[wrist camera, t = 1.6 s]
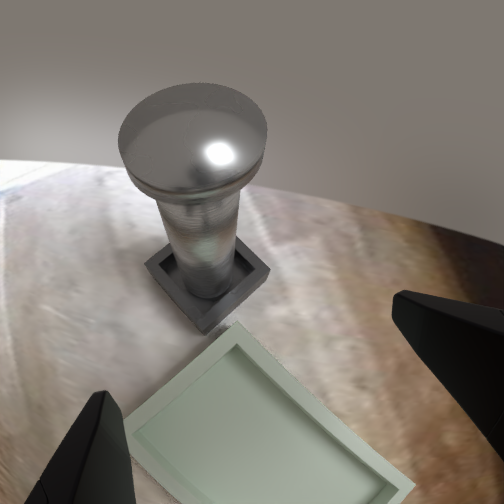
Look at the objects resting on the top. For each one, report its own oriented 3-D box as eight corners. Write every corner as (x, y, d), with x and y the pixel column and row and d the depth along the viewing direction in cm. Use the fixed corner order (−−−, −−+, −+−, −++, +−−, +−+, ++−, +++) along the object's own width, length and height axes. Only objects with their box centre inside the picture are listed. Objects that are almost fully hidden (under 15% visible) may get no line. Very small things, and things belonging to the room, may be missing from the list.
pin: (204, 321, 21) (176, 218, 8) (160, 271, 22) (94, 128, 9) (255, 276, 22) (298, 132, 10) (210, 230, 23) (203, 68, 11)
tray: (298, 570, 14) (306, 585, 12) (121, 426, 18) (109, 430, 16) (399, 477, 18) (416, 484, 15) (235, 327, 22) (237, 320, 19)
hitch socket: (204, 335, 21) (202, 330, 19) (151, 274, 23) (144, 263, 20) (266, 280, 23) (270, 269, 21) (211, 225, 25) (210, 210, 22)
